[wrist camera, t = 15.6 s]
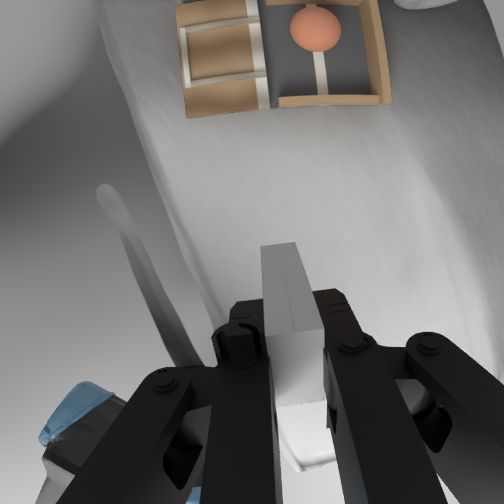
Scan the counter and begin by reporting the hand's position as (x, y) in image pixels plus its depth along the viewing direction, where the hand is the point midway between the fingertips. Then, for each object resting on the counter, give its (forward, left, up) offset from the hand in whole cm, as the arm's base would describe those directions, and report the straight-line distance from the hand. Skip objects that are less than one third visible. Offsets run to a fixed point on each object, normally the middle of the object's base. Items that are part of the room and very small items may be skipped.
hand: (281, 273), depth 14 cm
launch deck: (+15, +4, -25) cm, 29 cm away
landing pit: (+15, -8, -25) cm, 30 cm away
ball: (+17, -7, -21) cm, 28 cm away
